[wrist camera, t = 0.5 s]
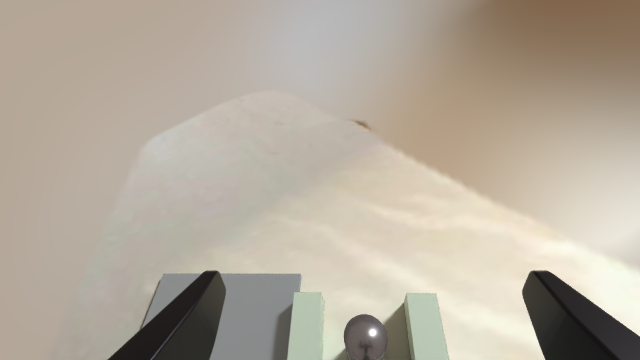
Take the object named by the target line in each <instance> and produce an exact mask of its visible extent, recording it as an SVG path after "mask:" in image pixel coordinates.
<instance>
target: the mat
mask: <svg viewBox="0 0 640 360" xmlns="http://www.w3.org/2000/svg"><path fill="white" fill-rule="evenodd" d="M200 275H201V274H163V276H162V278H161V281H160V284H159V286H158V289H157V291H156V294H155V296H154V299H153V301H152V304H151V306H150V309H149V311H148V314H147V316H146V319H145V321H144V324H143V326H142V328H143V327H144V326H145V325H146V324H147V323H148V322H149V321H150V320H152V319H153V318H154V317H155V316H156V315H157V314H158V313H159V312H160V311H161V310H163V309H164V308H165V307H166V306H167V305H168V304H169V303H170V302H171V301H172V300H173V299H175V298H176V297H177V296H178V295H179V294H180V293H181V292H182V291H183V290H184V289H186V288H187V287H188V286H189V285H190V284H191V283H192V282H193V281H194V280H195V279H196V278H198V277H199V276H200ZM220 275H221V277H222V279H223V282H224V284H225V287H226V296H225V301H224V305H223V310H222V314H221V318H220V323H219V327H218V332H217V336H216V340H215V344H214V347H213V350H212V354H211V356H210V359H209V360H287V357H288V347H289V337H290V328H291V318H292V309H293V299H294V292H300V284H301V274H220Z"/></svg>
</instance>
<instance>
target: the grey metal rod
mask: <svg viewBox="0 0 640 360" xmlns="http://www.w3.org/2000/svg"><path fill="white" fill-rule="evenodd" d="M344 342H345V346H346V350H347V354H348V358H349V360H383V359H384V354H385V350H386V346H387V334H386V330H385V328H384V326H383V325H382V323H381V322H380V321H379V320H378V319H376V318H375V317H373V316H371V315H366V314H362V315H358V316H355V317H354V318H352V319H351V320H350V321H349V322H348V324H347V325H346V328H345V331H344Z"/></svg>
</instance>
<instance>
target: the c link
mask: <svg viewBox="0 0 640 360" xmlns="http://www.w3.org/2000/svg"><path fill="white" fill-rule="evenodd" d="M404 308H405V316H406V324H407V332H408V340H409V348H410V356H411V360H449V356H448V350H447V345H446V340H445V335H444V330H443V325H442V320H441V315H440V310H439V305H438V299H437V294H436V293H406V297H405V300H404ZM323 323H324V299H323V296H322V293H321V292H294V299H293V309H292V318H291V328H290V337H289V347H288V357H287V360H322V348H323Z"/></svg>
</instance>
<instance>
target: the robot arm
mask: <svg viewBox="0 0 640 360" xmlns="http://www.w3.org/2000/svg"><path fill="white" fill-rule="evenodd" d="M522 295H523V299H524V302H525V305H526V307H527V310H528V313H529V316H530V319H531V322H532V325H533V327H534V330H535V333H536V336H537V339H538V342H539V345H540V347H541V350H542V352H543V355H544V357H545V359H546V360H640V336H638V335H637V334H635V333H634V332H633V331H631V330H630V329H629V328H627V327H626V326H624V325H623V324H622V323H620V322H619V321H617V320H616V319H615V318H613V317H612V316H611V315H609V314H608V313H606V312H605V311H604V310H602V309H601V308H600V307H598V306H597V305H595V304H594V303H593V302H591V301H590V300H588V299H587V298H586V297H584V296H583V295H582V294H580V293H579V292H577V291H576V290H575V289H573V288H572V287H571V286H569V285H568V284H566V283H565V282H564V281H562V280H561V279H559V278H558V277H557V276H555V275H554V274H553V273H551V272H549V271H531V272H530V273H529V275H528V277H527V280H526V282H525V284H524V287H523V290H522ZM225 296H226V287H225V284H224V282H223V279H222V277H221V275H220V273H219V272H218V271H205V272H203V273H202V274H201V275H200V276H199V277H198V278H196V279H195V280H194V281H193V282H192V283H191V284H190V285H189V286H188V287H187V288H186V289H184V290H183V291H182V292H181V293H180V294H179V295H178V296H177V297H176V298H175V299H173V300H172V301H171V302H170V303H169V304H168V305H167V306H166V307H165V308H164V309H163V310H161V311H160V312H159V313H158V314H157V315H156V316H155V317H154V318H153V319H152V320H150V321H149V322H148V323H147V324H146V325H145V326H144V327H143V328H142V329H141V330H140V331H138V332H137V333H136V334H135V335H134V336H133V337H132V338H131V339H130V340H129V341H128V342H126V343H125V344H124V345H123V346H122V347H121V348H120V349H119V350H118V351H117V352H115V353H114V354H113V355H112V356H111V357H110V358H109V359H108V360H209V359H210V356H211V354H212V350H213V347H214V344H215V340H216V336H217V332H218V327H219V323H220V318H221V314H222V310H223V305H224V301H225Z"/></svg>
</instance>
